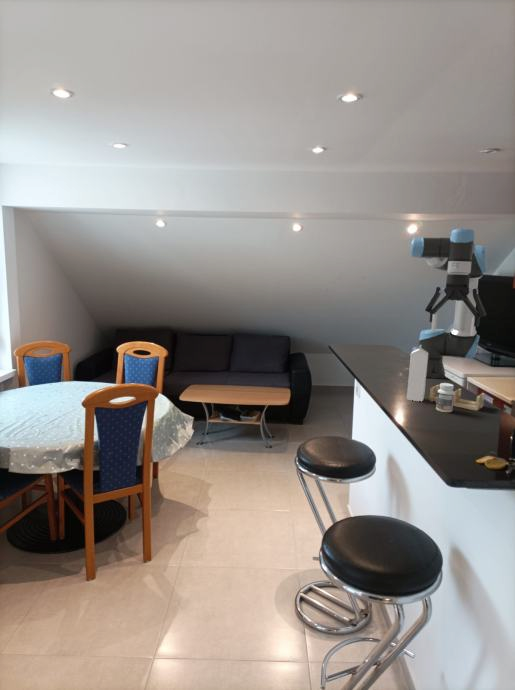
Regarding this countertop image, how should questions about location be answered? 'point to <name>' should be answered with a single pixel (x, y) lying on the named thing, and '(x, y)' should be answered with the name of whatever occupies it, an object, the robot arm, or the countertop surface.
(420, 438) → the countertop surface
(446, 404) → the pill bottle
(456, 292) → the robot arm
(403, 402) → the countertop surface
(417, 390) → the milk
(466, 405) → the rack
